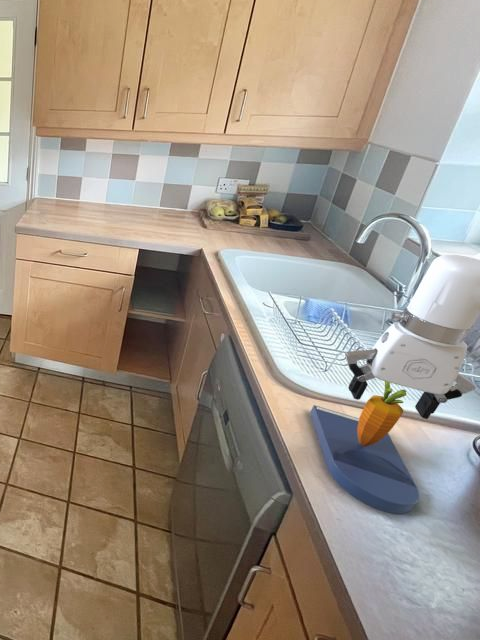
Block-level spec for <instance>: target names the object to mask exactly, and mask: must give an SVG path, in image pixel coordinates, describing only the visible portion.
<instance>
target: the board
mask: <svg viewBox="0 0 480 640" xmlns="http://www.w3.org/2000/svg"><path fill="white" fill-rule="evenodd" d="M309 416H310V419H311V422H312V425H313V428H314V431H315V434H316V437H317V440H318V443H319V446H320V449H321V452H322V455H323V458H324V461H325V465H326V467H327V469H328V472H329V474H330V475H331V477H332V478H333V480H334V481H335V482H336V483H337V484H338V485H339V486H340V487H341V488H342V489H343V490H344V491H346V492H347V493H348V494H350V495H351V496H352V497H354V498H355V499H357V500H359V501H360V502H362V503H364V504H366V505H367V506H369V507H372V508H374V509H376V510H378V511H382V512H385V513H389V514H395V515H403V514H407V513H409V512H411V511H412V509H414V507H415V506H416V504H417V503H418V501H419V499H420V492H419V488H418V486H417V485H416V482H415V481H414V479H413V477H412V476H411V473H410V472H409V470H408V468H407V466H406V464H405V463H404V460H403V459H402V457H401V455H400V453H399V452H398V449H397V447H396V446H395V444H394V442H393V440H392V438H391V435H390V434H389V432H388V433H387V434H386V435H385V436H384V437H383V438H382V439H381V440H380V441H378V442H376V443H374V444H372V445H369V446H361V444H360V443H359V440H358V436H357V427H358V422H359V418H360V417H355V416H352V415H349V414H345V413H341V412H338V411H335V410H331V409H329V408H325V407H321V406H318V405H315V404H313V406H312V408H311V410H310V412H309Z"/></svg>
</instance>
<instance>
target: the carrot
mask: <svg viewBox="0 0 480 640" xmlns="http://www.w3.org/2000/svg"><path fill="white" fill-rule="evenodd" d="M392 392H393V388H391V383H390V382H386V381H384V392H383V395H377V394H375V395H372V396H371V397H369V399H368V400H367V401H366V403H365V405H364V407H363V409H362V411H361V413H360V416H359V417H358V418H359V422H358V427H357V436H358V440H359V443H360V444H361V446H369V445H372V444H374V443H376V442H378V441H380V440H381V439H382V438H383V437H384V436H385V435H386V434H387V433H388V434H389V433H390V432H391V431H392V429H393V428H394V427H395V425H396V424H397V422H399V420H400V418H401V417H402V416H403V413H404V408H403V407H402V406H401V405H400V404H404V403H405V402H404V400H401V399H400V398H403V397H406V396H407V390H406V389H400V390H397V391H395V392H393V393H392Z"/></svg>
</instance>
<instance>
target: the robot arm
mask: <svg viewBox="0 0 480 640" xmlns="http://www.w3.org/2000/svg"><path fill="white" fill-rule="evenodd" d="M479 316H480V252H479V253H477V254H475V255H473V256H465V255H459V254H443V255H440V256H437V257H436V258H434V259H433V260H432V262H431V263H430V265H429V267H428V269H427V270H426V272H425V274H424V275H423V278H422V280H421V281H420V283H419V285H418V287H417V289H416V290H415V292H414V294H413V296H412V298H411V299H410V301H409V303H408V304H407V307H406V308H404V309H403V311H402V312H395V311H394V312H392V313H391V320H393V321H394V322H393V323H392V324H391V325H390V326H389V327H388V328H387V329H386V330H385V331H384V332H383V333H382V334H381V336H380V337H379V338H378V339H377V341H376V342H375V344H374V345H373V347H372V348H371V349H362V350H351V351H349V350H348V351H345V353H344V356H345V360H346V363H347V366H348V368H349V370H350V371H351V372H352V374H353V376H352V379H351V380H350V382H349V384H348V390H349V392H350V393H351V395H352V397H353V399H354V400H357V401H358V400H361V398H362V397H363V394H364V393H365V392H366V389H367V387H368V385H369V384H368V382H367V381H370V380H373V379H376V378H377V379H378V380H380V381H382V382H385V381H386V382H390V384H393V385H396V386H397V385H398V386H401V387H404V388H409V389H413V390H417V391H420V392H423V393H422V395H421V396H420V397H419V398H418V401H417V402H416V403H415V405H414V408H415V410H416V411H417V413H418V414H419V416H420V417H421V418H422V419H425V420H428V419H429V418H430V416H431V415H432V414H435V412H436V410H437V409H438V407H439V406H440V405H441V404H446V403H447V402H448V401H449V400H453V399H454V400H455V399H458V398H461V397H462V396H463V395H466V394H467V393H470V392H472V391H475V390H476V389H477V388H476V386H475V384H473V382H472V381H470V380H469V379H468V378H466V377H465V376H463V375H462V374H461V373H460V371H461V370H462V367H463V364H464V362H465V358H466V354H467V351H468V344H467V343H466V342H465V341H464V339H465V338H466V336H467V334H468V333H469V332H470V330H471V329H472V327H473V325H474V324H475V322H476V321H477V319H478V318H479ZM358 361H365V364H363V365H360V366H358ZM455 383H456V384H455Z"/></svg>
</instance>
